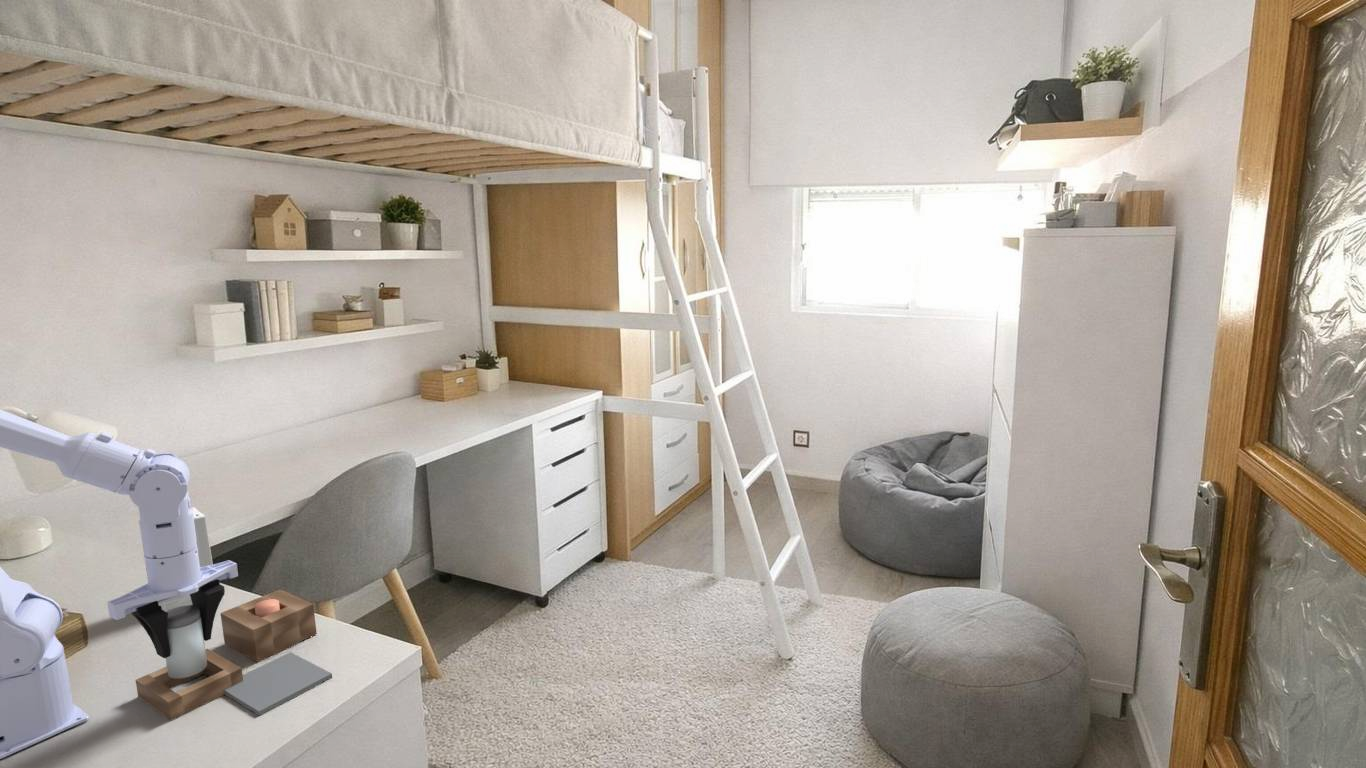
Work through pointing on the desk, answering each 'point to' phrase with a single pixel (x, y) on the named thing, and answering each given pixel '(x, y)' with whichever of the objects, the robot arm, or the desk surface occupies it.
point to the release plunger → (266, 607)
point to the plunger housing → (268, 626)
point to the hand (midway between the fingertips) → (184, 646)
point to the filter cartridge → (185, 642)
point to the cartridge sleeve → (178, 703)
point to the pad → (276, 683)
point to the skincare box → (204, 559)
